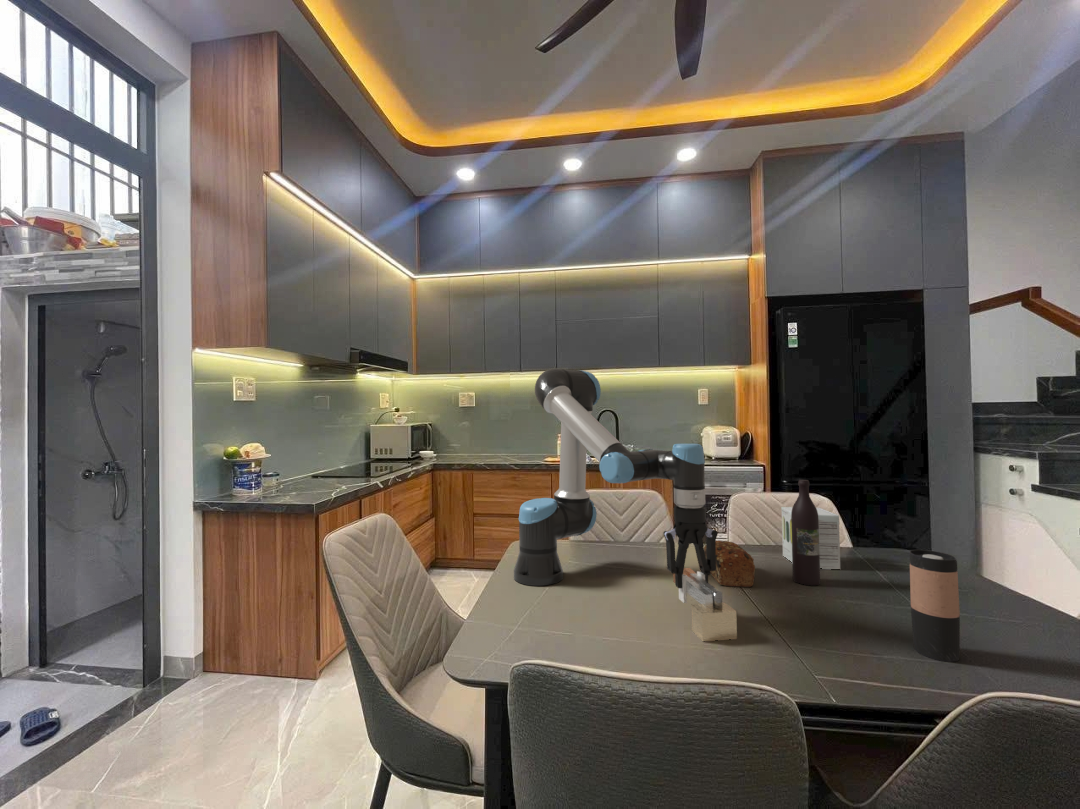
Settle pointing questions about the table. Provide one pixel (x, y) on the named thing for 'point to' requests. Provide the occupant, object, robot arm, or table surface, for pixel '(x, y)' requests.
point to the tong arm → (706, 587)
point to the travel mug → (935, 604)
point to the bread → (733, 565)
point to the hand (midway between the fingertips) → (692, 599)
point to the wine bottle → (805, 538)
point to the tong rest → (710, 615)
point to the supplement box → (827, 537)
